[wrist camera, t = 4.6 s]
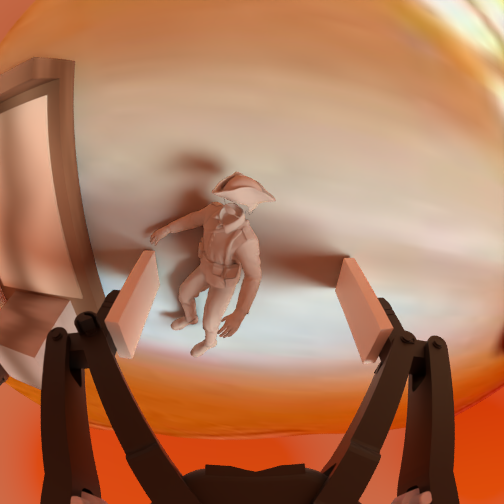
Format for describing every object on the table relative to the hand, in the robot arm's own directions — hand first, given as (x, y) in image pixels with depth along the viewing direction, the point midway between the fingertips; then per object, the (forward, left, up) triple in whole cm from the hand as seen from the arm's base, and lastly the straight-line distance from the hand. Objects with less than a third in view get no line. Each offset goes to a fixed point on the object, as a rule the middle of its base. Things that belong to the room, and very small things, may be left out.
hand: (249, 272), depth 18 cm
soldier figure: (-2, +1, 0) cm, 2 cm away
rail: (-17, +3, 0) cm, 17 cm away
